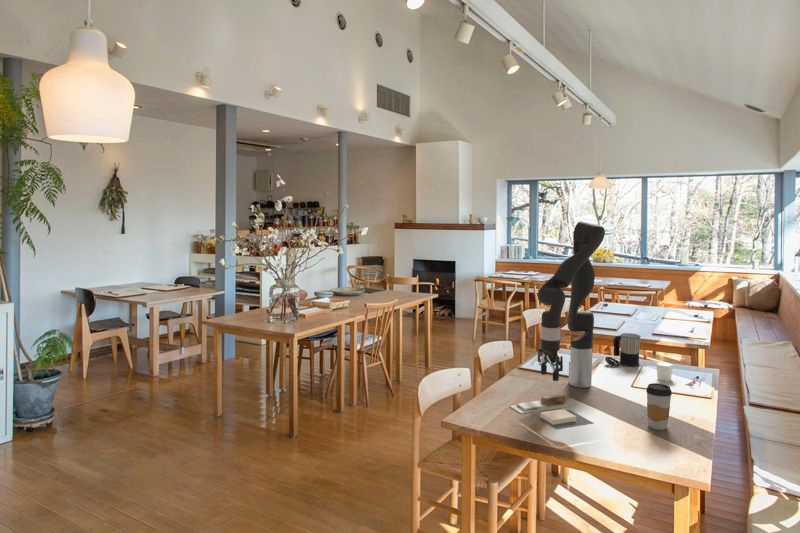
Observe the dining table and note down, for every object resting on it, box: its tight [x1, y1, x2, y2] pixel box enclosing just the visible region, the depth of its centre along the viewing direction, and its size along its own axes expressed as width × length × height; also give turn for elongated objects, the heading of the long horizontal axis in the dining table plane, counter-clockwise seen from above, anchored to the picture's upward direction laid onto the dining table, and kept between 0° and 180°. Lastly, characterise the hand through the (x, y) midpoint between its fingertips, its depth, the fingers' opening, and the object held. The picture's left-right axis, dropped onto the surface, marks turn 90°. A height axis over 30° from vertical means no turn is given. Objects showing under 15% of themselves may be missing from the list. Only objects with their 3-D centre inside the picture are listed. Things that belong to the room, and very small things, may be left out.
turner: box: [516, 393, 566, 411], centre depth 227 cm, size 19×6×3 cm, turn 109°
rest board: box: [509, 403, 570, 415], centre depth 227 cm, size 8×22×1 cm, turn 109°
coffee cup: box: [645, 382, 672, 431], centre depth 206 cm, size 8×8×15 cm
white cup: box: [656, 361, 674, 382], centre depth 262 cm, size 7×7×7 cm
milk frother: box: [604, 332, 642, 367], centre depth 285 cm, size 14×16×15 cm
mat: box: [533, 409, 594, 430], centre depth 214 cm, size 15×16×1 cm
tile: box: [540, 408, 576, 425], centre depth 213 cm, size 8×2×10 cm
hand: (549, 377), depth 228 cm, fingers open, 8 cm apart
